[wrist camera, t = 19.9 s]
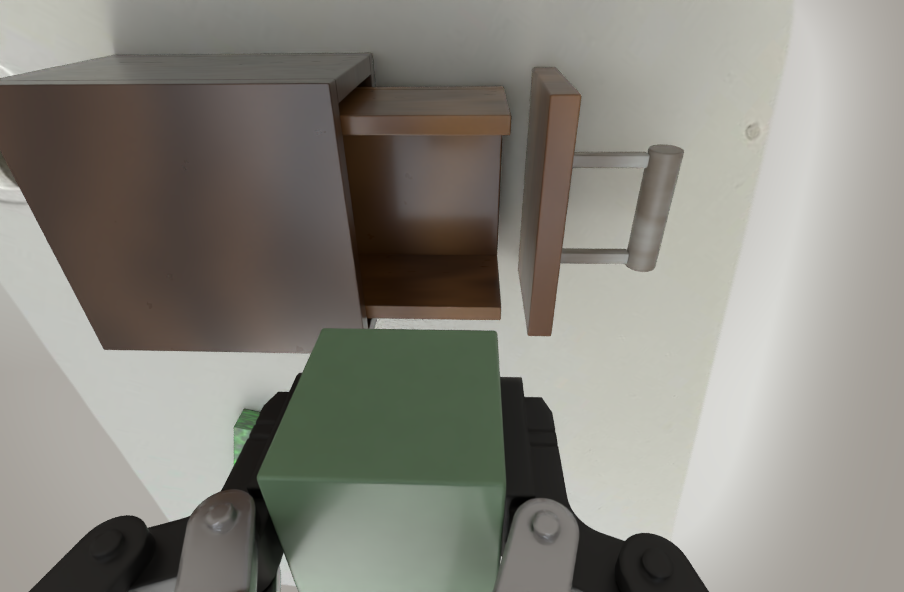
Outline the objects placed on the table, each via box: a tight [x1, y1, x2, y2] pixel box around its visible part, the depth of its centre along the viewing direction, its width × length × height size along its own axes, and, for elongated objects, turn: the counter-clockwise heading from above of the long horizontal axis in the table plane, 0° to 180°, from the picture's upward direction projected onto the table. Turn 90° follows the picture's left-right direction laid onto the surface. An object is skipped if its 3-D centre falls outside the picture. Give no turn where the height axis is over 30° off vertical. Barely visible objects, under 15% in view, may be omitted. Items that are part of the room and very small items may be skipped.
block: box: [257, 328, 506, 592], centre depth 12 cm, size 4×4×4 cm
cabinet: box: [0, 53, 377, 353], centre depth 25 cm, size 14×13×9 cm
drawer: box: [338, 67, 684, 336], centre depth 24 cm, size 18×12×7 cm, turn 91°
